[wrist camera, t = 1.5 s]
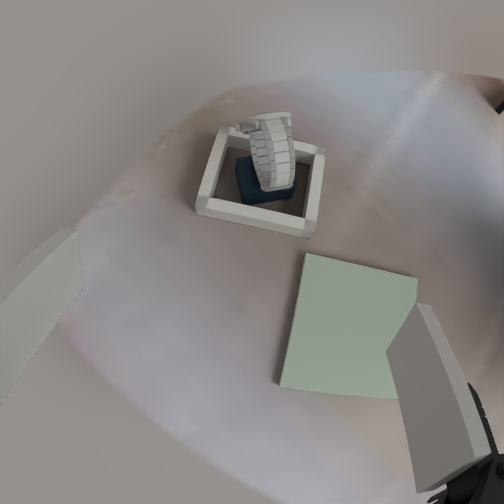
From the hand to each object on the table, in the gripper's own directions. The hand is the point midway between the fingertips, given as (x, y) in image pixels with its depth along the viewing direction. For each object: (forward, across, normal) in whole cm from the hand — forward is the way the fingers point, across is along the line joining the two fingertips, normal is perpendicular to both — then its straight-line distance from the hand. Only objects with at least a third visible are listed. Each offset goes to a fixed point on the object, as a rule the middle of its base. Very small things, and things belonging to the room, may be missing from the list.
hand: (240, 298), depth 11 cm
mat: (+15, +13, -14) cm, 24 cm away
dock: (+25, 0, -4) cm, 25 cm away
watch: (+25, 0, -4) cm, 26 cm away
